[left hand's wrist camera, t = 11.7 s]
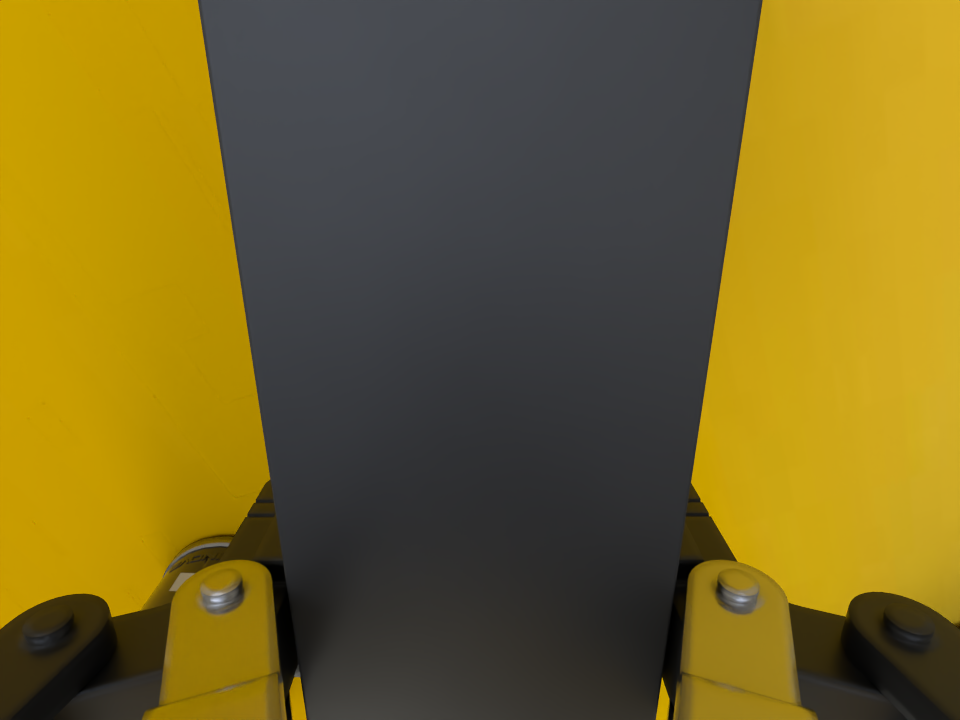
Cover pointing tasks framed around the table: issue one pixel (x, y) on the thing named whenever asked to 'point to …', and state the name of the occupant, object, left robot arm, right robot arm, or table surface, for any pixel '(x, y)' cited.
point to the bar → (480, 331)
